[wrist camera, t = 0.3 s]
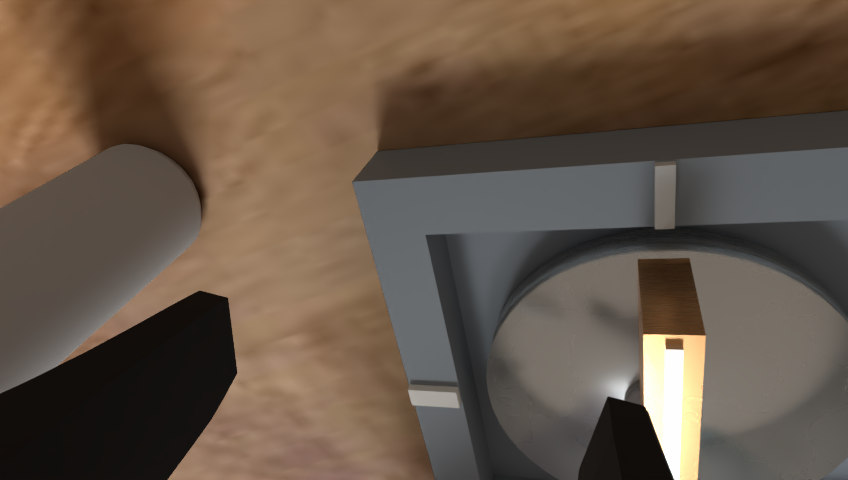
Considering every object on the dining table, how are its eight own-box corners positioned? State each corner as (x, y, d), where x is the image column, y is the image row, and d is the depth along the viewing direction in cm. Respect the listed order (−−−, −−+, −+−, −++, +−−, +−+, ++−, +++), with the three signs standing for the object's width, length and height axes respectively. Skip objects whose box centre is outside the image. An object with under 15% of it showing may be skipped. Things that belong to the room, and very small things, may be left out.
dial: (829, 497, 22) (880, 642, 18) (511, 467, 26) (494, 580, 22) (893, 220, 16) (992, 339, 12) (470, 235, 20) (435, 329, 16)
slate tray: (900, 536, 23) (931, 607, 21) (461, 488, 29) (448, 539, 26) (1053, 92, 14) (1134, 133, 12) (377, 151, 20) (348, 185, 18)
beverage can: (164, 122, 22) (-199, 328, 12) (232, 228, 24) (-33, 482, 14) (82, 157, 24) (-286, 359, 14) (152, 253, 26) (-129, 490, 16)
